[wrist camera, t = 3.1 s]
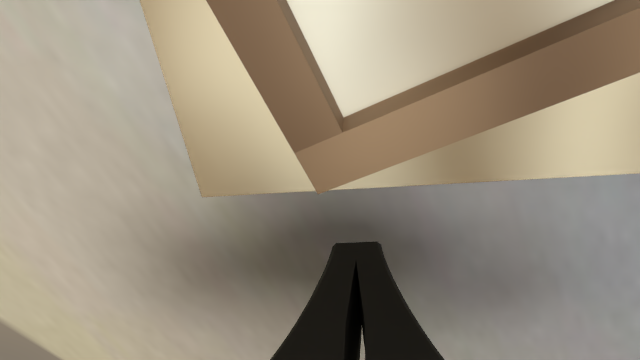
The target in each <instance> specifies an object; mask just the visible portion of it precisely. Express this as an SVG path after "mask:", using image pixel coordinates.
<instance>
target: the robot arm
mask: <svg viewBox="0 0 640 360" xmlns="http://www.w3.org/2000/svg"><path fill="white" fill-rule="evenodd" d="M362 329H363V338H364V346H365V360H444V358H443V357H442V356H441V355H440V353H439V352H438V351H437V349H436V348H435V346H434V345H433V344H432V342H431V341H430V339H429V338H428V337H427V335H426V334H425V332H424V331H423V329H422V328H421V326H420V325H419V323H418V322H417V320H416V318H415V317H414V315H413V314H412V312H411V310H410V309H409V307H408V305H407V303H406V302H405V300H404V298H403V296H402V294H401V292H400V291H399V289H398V287H397V285H396V283H395V281H394V279H393V277H392V275H391V272H390V270H389V268H388V265H387V263H386V260H385V258H384V255H383V251H382V247H381V244H379V243H378V242H359V243H336V244H335V245H334V246H333V248H332V251H331V254H330V257H329V260H328V262H327V265H326V267H325V270H324V272H323V274H322V276H321V278H320V280H319V282H318V284H317V286H316V288H315V290H314V292H313V294H312V296H311V298H310V300H309V302H308V304H307V305H306V307H305V309H304V310H303V312H302V314H301V316H300V317H299V319H298V321H297V322H296V324H295V325H294V327H293V328H292V330H291V332H290V333H289V335H288V336H287V338H286V339H285V340H284V342H283V343H282V345H281V346H280V347H279V349H278V350H277V352H276V353H275V354H274V355H273V357H272V358H271V359H270V360H360V345H361V330H362Z"/></svg>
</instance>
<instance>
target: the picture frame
mask: <svg viewBox="0 0 640 360" xmlns="http://www.w3.org/2000/svg"><path fill="white" fill-rule="evenodd" d="M206 1H207V3H208V5H209V6H210V8H211V10H212V12H213V13H214V15H215V17H216V18H217V20H218V22H219V24H220V25H221V27H222V29H223V31H224V32H225V34H226V36H227V38H228V39H229V41H230V43H231V44H232V46H233V48H234V50H235V51H236V53H237V55H238V57H239V58H240V60H241V62H242V64H243V65H244V67H245V69H246V70H247V72H248V74H249V76H250V77H251V79H252V81H253V83H254V84H255V86H256V88H257V90H258V91H259V93H260V95H261V96H262V98H263V100H264V102H265V103H266V105H267V107H268V109H269V110H270V112H271V114H272V116H273V117H274V119H275V121H276V122H277V124H278V126H279V128H280V129H281V131H282V133H283V135H284V136H285V138H286V140H287V142H288V143H289V145H290V147H291V148H292V150H293V152H294V154H295V155H296V157H297V159H298V161H299V162H300V164H301V166H302V168H303V169H304V171H305V173H306V174H307V176H308V178H309V180H310V181H311V183H312V185H313V187H314V188H315V190H316V192H317V194H320V193H323V192H325V191H328V190H331V189H333V188H336V187H339V186H341V185H344V184H347V183H349V182H352V181H354V180H357V179H360V178H362V177H365V176H368V175H370V174H373V173H376V172H378V171H381V170H384V169H386V168H389V167H391V166H394V165H397V164H399V163H402V162H405V161H407V160H410V159H413V158H415V157H418V156H421V155H423V154H426V153H428V152H431V151H434V150H436V149H439V148H442V147H444V146H447V145H450V144H452V143H455V142H458V141H460V140H463V139H465V138H468V137H471V136H473V135H476V134H479V133H481V132H484V131H487V130H489V129H492V128H494V127H497V126H500V125H502V124H505V123H508V122H510V121H513V120H516V119H518V118H521V117H524V116H526V115H529V114H531V113H534V112H537V111H539V110H542V109H545V108H547V107H550V106H553V105H555V104H558V103H561V102H563V101H566V100H568V99H571V98H574V97H576V96H579V95H582V94H584V93H587V92H590V91H592V90H595V89H598V88H600V87H603V86H605V85H608V84H611V83H613V82H616V81H619V80H621V79H624V78H627V77H629V76H632V75H635V74H637V73H640V0H206Z"/></svg>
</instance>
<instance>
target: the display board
mask: <svg viewBox="0 0 640 360" xmlns="http://www.w3.org/2000/svg"><path fill="white" fill-rule="evenodd" d="M140 3H141V6H142V9H143V12H144V15H145V18H146V22H147V25H148V28H149V31H150V34H151V37H152V41H153V44H154V47H155V50H156V53H157V56H158V60H159V63H160V66H161V69H162V72H163V75H164V79H165V82H166V85H167V88H168V91H169V94H170V98H171V101H172V104H173V107H174V110H175V113H176V117H177V120H178V123H179V126H180V129H181V132H182V136H183V139H184V142H185V145H186V148H187V151H188V155H189V158H190V161H191V164H192V167H193V170H194V173H195V177H196V180H197V183H198V186H199V189H200V192H201V196H202V197H213V196H232V195H250V194H268V193H287V192H305V191H316V190H315V188H314V187H313V185H312V183H311V181H310V180H309V178H308V176H307V174H306V173H305V171H304V169H303V168H302V166H301V164H300V162H299V161H298V159H297V157H296V155H295V154H294V152H293V150H292V148H291V147H290V145H289V143H288V142H287V140H286V138H285V136H284V135H283V133H282V131H281V129H280V128H279V126H278V124H277V122H276V121H275V119H274V117H273V116H272V114H271V112H270V110H269V109H268V107H267V105H266V103H265V102H264V100H263V98H262V96H261V95H260V93H259V91H258V90H257V88H256V86H255V84H254V83H253V81H252V79H251V77H250V76H249V74H248V72H247V70H246V69H245V67H244V65H243V64H242V62H241V60H240V58H239V57H238V55H237V53H236V51H235V50H234V48H233V46H232V44H231V43H230V41H229V39H228V38H227V36H226V34H225V32H224V31H223V29H222V27H221V25H220V24H219V22H218V20H217V18H216V17H215V15H214V13H213V12H212V10H211V8H210V6H209V5H208V3H207V1H206V0H140ZM637 173H640V73H637V74H635V75H632V76H629V77H627V78H624V79H621V80H619V81H616V82H613V83H611V84H608V85H605V86H603V87H600V88H598V89H595V90H592V91H590V92H587V93H584V94H582V95H579V96H576V97H574V98H571V99H568V100H566V101H563V102H561V103H558V104H555V105H553V106H550V107H547V108H545V109H542V110H539V111H537V112H534V113H531V114H529V115H526V116H524V117H521V118H518V119H516V120H513V121H510V122H508V123H505V124H502V125H500V126H497V127H494V128H492V129H489V130H487V131H484V132H481V133H479V134H476V135H473V136H471V137H468V138H465V139H463V140H460V141H458V142H455V143H452V144H450V145H447V146H444V147H442V148H439V149H436V150H434V151H431V152H428V153H426V154H423V155H421V156H418V157H415V158H413V159H410V160H407V161H405V162H402V163H399V164H397V165H394V166H391V167H389V168H386V169H384V170H381V171H378V172H376V173H373V174H370V175H368V176H365V177H362V178H360V179H357V180H354V181H352V182H349V183H347V184H344V185H341V186H339V187H336V188H333V189H331V190H342V189H360V188H379V187H397V186H416V185H434V184H453V183H471V182H489V181H508V180H526V179H545V178H563V177H581V176H600V175H618V174H637Z"/></svg>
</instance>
